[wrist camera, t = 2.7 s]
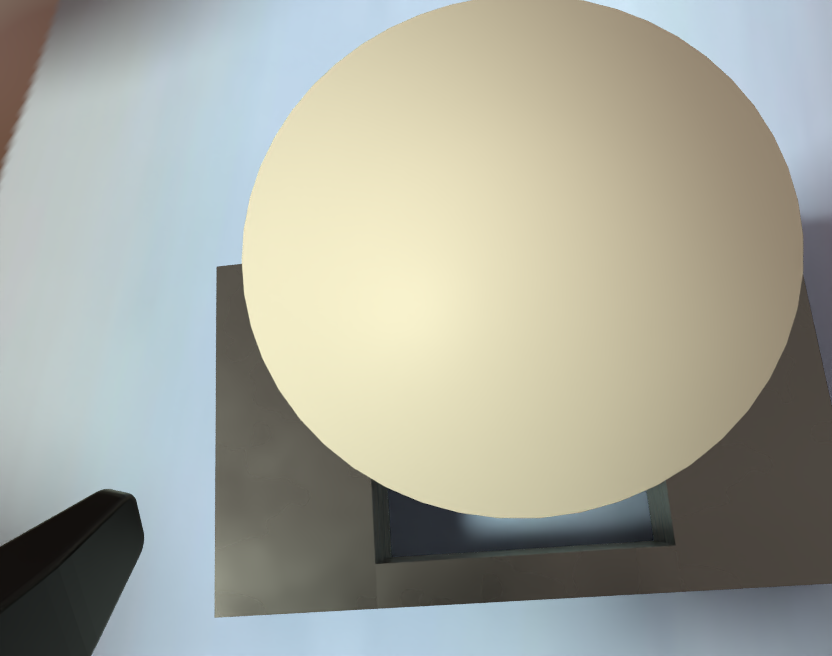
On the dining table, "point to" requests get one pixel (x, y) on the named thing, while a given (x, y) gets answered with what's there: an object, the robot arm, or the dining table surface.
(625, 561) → the dark grey peg holder
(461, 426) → the cream round peg
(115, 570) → the robot arm
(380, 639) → the dining table surface
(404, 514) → the dining table surface
